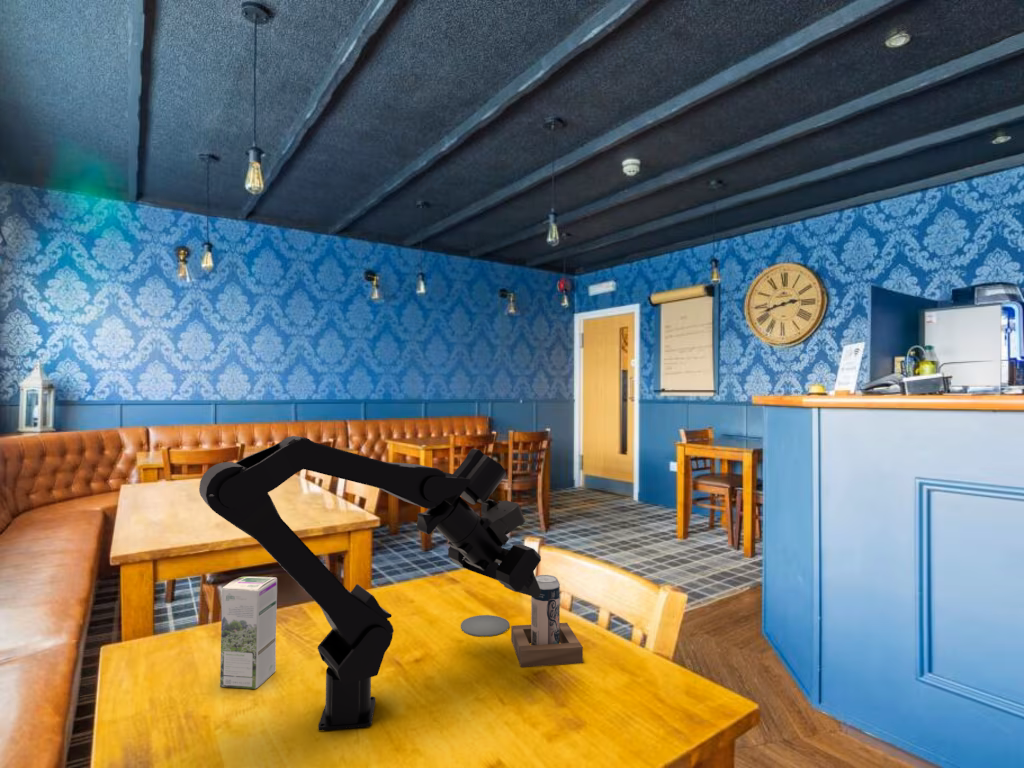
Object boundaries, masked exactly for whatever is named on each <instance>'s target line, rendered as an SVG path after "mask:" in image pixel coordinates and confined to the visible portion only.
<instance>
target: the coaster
mask: <svg viewBox="0 0 1024 768" xmlns="http://www.w3.org/2000/svg"><path fill="white" fill-rule="evenodd" d="M508 628H509V629H510V622H509V621H508V620H507V619H506V618H504V617H501V616H498V615H492V614H491V615H489V614H481V615H475V616H471V617H468V618H465V619H464V620H462V621H461V623H460V630H461V629H462V630H461V631H462V632H463V631H464V632H463V633H464V634H467V635H468V636H469V635H470V636H474V637H480V636H484V637H485V636H489V637H494V636H493V635H496V636H499V635H498V634H500V635H502V634H504V633H503V632H505V631H506V630H507V629H508ZM509 629H508V630H509ZM508 630H507V631H508ZM507 631H506V632H507ZM506 632H505V633H506ZM501 633H502V634H501ZM484 637H483V638H484Z"/></svg>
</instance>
